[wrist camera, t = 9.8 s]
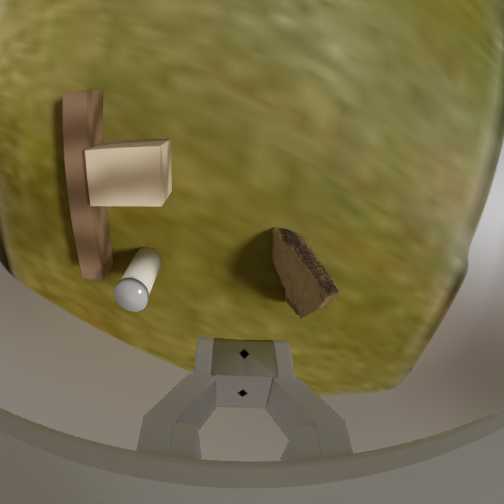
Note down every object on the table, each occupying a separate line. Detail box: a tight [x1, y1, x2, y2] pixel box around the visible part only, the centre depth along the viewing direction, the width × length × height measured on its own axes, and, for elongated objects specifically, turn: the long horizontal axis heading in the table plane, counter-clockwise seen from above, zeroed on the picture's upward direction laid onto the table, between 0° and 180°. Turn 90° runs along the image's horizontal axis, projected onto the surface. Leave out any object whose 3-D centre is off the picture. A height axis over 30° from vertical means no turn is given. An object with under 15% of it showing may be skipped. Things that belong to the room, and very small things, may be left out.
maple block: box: [85, 139, 172, 206], centre depth 29 cm, size 6×8×5 cm
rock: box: [272, 228, 340, 319], centre depth 36 cm, size 11×9×10 cm
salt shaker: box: [114, 247, 162, 312], centre depth 33 cm, size 4×4×8 cm
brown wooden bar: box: [63, 90, 114, 280], centre depth 30 cm, size 22×3×4 cm, turn 175°
